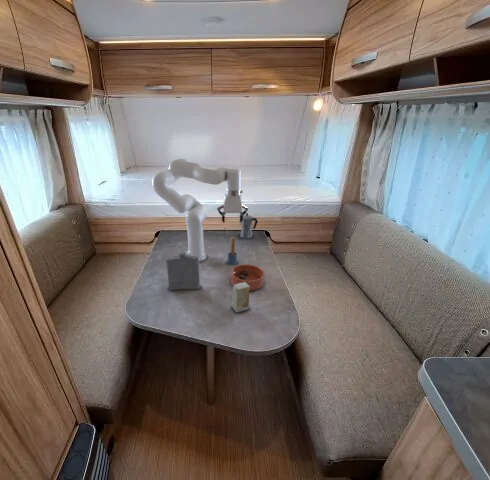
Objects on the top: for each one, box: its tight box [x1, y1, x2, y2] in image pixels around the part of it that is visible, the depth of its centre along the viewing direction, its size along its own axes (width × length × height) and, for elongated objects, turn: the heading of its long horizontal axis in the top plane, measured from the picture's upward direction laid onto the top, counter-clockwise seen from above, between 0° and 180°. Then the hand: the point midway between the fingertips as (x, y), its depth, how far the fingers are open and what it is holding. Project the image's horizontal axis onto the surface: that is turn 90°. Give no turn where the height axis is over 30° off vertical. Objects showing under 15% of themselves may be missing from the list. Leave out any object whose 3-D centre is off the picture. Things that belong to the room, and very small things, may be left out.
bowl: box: [230, 263, 265, 291], centre depth 140 cm, size 17×17×6 cm
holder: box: [227, 251, 238, 265], centre depth 160 cm, size 5×6×6 cm
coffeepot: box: [239, 212, 259, 239], centre depth 196 cm, size 15×9×18 cm, turn 51°
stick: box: [230, 236, 236, 256], centre depth 158 cm, size 2×2×16 cm
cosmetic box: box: [231, 282, 251, 313], centre depth 119 cm, size 6×4×12 cm
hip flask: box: [165, 250, 201, 291], centre depth 134 cm, size 16×4×20 cm, turn 92°
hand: (232, 222), depth 151 cm, fingers open, 9 cm apart
